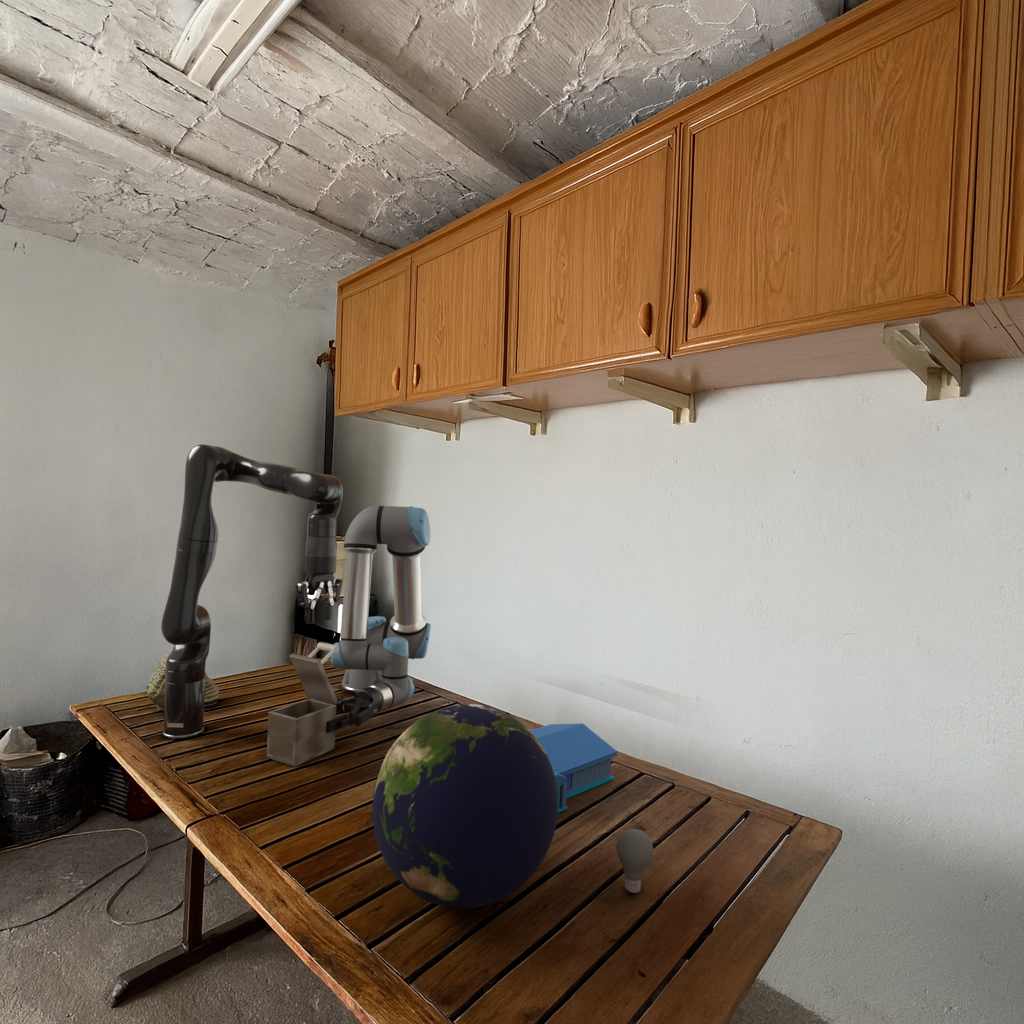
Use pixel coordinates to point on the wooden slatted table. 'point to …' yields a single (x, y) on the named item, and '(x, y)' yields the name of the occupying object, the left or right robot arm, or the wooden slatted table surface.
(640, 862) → the light bulb
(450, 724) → the globe
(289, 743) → the chest
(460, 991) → the wooden slatted table surface
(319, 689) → the lid
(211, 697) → the fossil
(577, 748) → the model building
